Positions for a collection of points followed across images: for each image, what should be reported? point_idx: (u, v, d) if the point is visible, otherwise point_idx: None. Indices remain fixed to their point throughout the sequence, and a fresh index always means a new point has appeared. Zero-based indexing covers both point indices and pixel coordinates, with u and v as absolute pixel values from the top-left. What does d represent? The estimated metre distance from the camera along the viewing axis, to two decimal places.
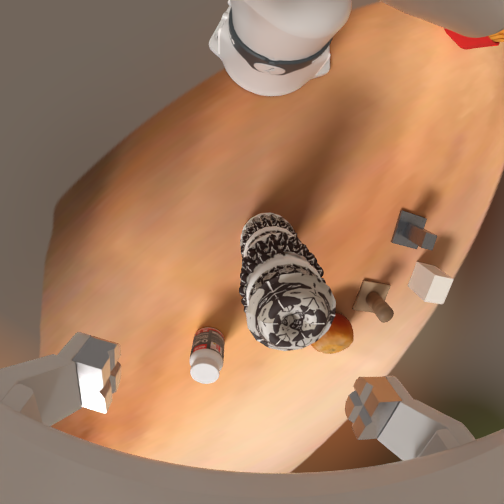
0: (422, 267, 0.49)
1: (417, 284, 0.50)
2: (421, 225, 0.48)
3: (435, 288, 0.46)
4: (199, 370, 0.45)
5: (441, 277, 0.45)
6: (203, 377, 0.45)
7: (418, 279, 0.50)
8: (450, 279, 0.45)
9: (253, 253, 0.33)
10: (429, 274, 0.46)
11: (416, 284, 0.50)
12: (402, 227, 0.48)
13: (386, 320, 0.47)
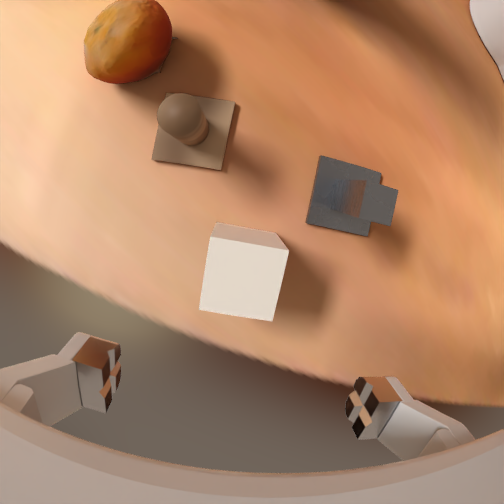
0: (276, 237, 0.24)
1: (235, 230, 0.23)
2: (355, 225, 0.26)
3: (248, 265, 0.20)
4: None
5: (280, 276, 0.20)
6: None
7: (246, 232, 0.23)
8: (272, 310, 0.21)
9: None
10: (277, 244, 0.21)
11: (233, 229, 0.23)
12: (351, 177, 0.25)
13: (162, 118, 0.17)
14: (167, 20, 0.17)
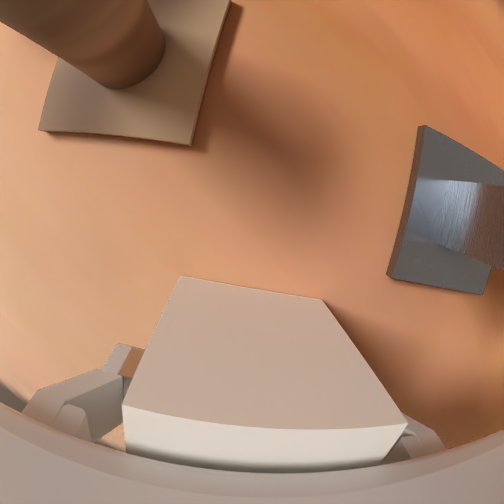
0: (334, 327, 0.09)
1: (226, 317, 0.08)
2: (470, 276, 0.11)
3: None
4: None
5: None
6: None
7: (257, 320, 0.08)
8: None
9: None
10: (358, 380, 0.06)
11: (220, 314, 0.08)
12: (473, 178, 0.10)
13: None
14: None
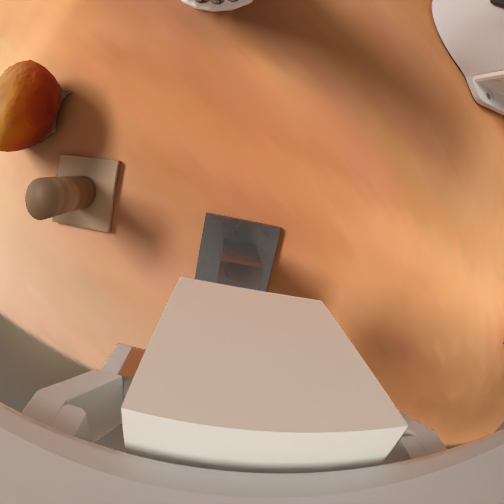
0: (334, 329, 0.09)
1: (225, 319, 0.08)
2: None
3: None
4: None
5: None
6: None
7: (257, 322, 0.08)
8: None
9: None
10: (358, 382, 0.06)
11: (219, 315, 0.08)
12: (242, 235, 0.24)
13: (29, 204, 0.16)
14: (45, 86, 0.16)
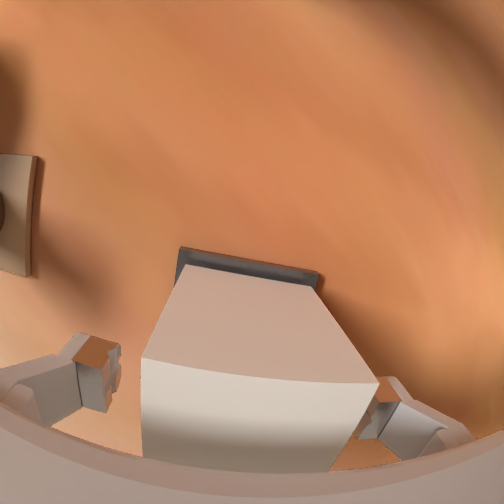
0: (320, 308, 0.10)
1: (225, 297, 0.09)
2: None
3: (264, 425, 0.06)
4: None
5: (344, 436, 0.06)
6: None
7: (252, 300, 0.10)
8: None
9: None
10: (338, 349, 0.07)
11: (220, 294, 0.09)
12: None
13: None
14: None
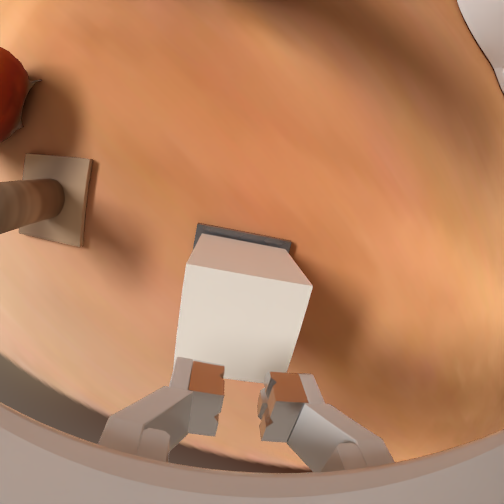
0: (287, 258, 0.16)
1: (228, 248, 0.16)
2: None
3: (248, 308, 0.12)
4: None
5: (297, 324, 0.13)
6: None
7: (244, 250, 0.16)
8: (282, 371, 0.13)
9: None
10: (292, 272, 0.14)
11: (225, 247, 0.16)
12: None
13: None
14: (6, 72, 0.11)
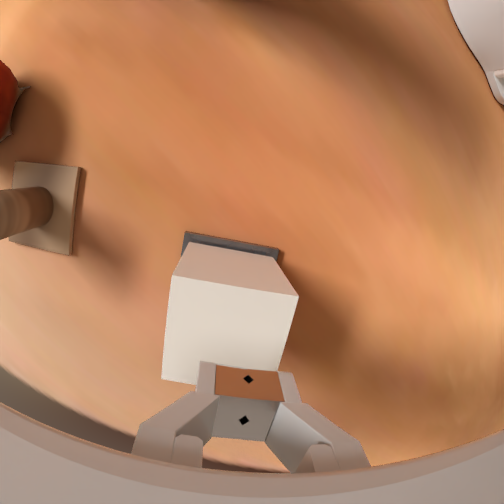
0: (274, 266, 0.16)
1: (215, 257, 0.16)
2: None
3: (234, 319, 0.12)
4: None
5: (283, 334, 0.13)
6: None
7: (231, 260, 0.16)
8: None
9: None
10: (278, 282, 0.14)
11: (212, 256, 0.16)
12: None
13: None
14: None
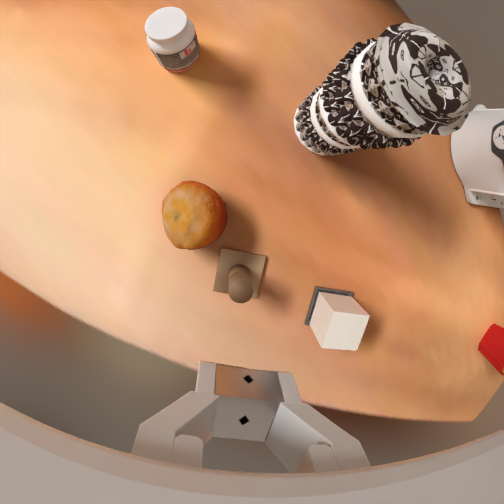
0: (355, 302, 0.39)
1: (335, 300, 0.39)
2: None
3: (350, 324, 0.35)
4: (173, 16, 0.23)
5: (364, 328, 0.36)
6: (159, 21, 0.23)
7: (341, 301, 0.39)
8: (357, 345, 0.36)
9: None
10: (361, 310, 0.37)
11: (334, 300, 0.39)
12: None
13: (231, 294, 0.34)
14: (224, 211, 0.34)
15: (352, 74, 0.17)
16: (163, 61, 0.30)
